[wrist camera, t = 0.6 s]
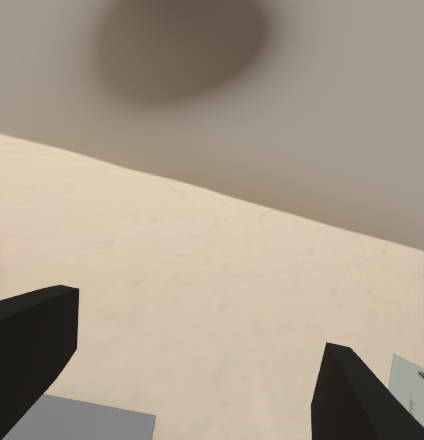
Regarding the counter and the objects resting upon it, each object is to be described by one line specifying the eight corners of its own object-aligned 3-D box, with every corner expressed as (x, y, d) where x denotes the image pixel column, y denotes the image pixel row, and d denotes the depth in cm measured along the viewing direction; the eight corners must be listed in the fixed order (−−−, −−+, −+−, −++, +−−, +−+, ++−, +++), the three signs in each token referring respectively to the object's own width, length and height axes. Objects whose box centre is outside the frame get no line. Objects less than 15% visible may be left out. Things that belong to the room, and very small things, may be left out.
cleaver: (381, 343, 35) (434, 369, 34) (375, 350, 36) (426, 376, 35) (355, 535, 23) (436, 588, 22) (347, 540, 24) (424, 591, 22)
